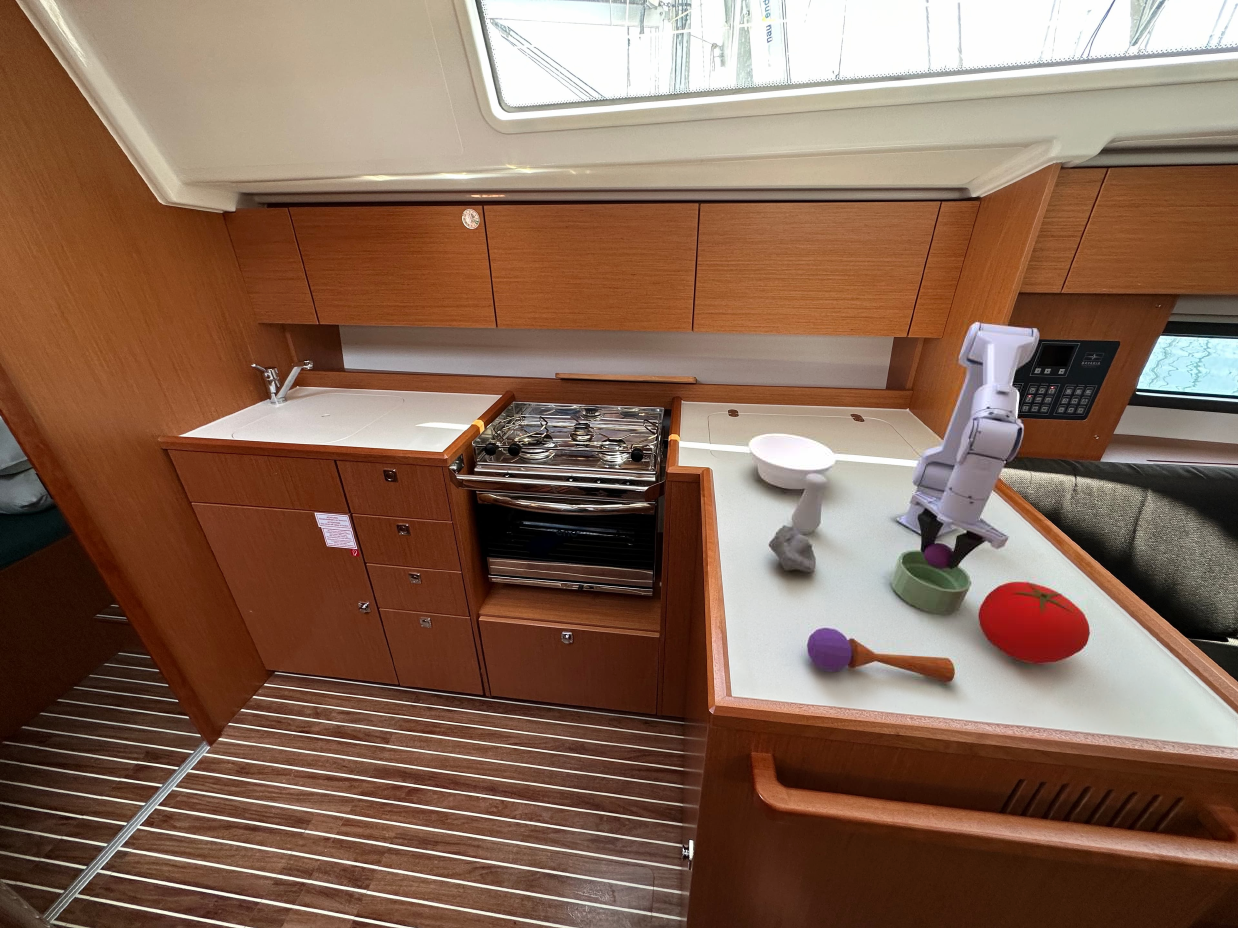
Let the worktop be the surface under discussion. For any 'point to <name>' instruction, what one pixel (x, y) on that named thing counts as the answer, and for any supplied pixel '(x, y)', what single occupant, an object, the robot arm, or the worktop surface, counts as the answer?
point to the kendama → (870, 656)
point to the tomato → (1033, 623)
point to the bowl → (789, 459)
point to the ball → (938, 555)
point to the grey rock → (793, 549)
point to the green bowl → (929, 583)
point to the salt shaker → (810, 505)
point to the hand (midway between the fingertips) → (938, 558)
